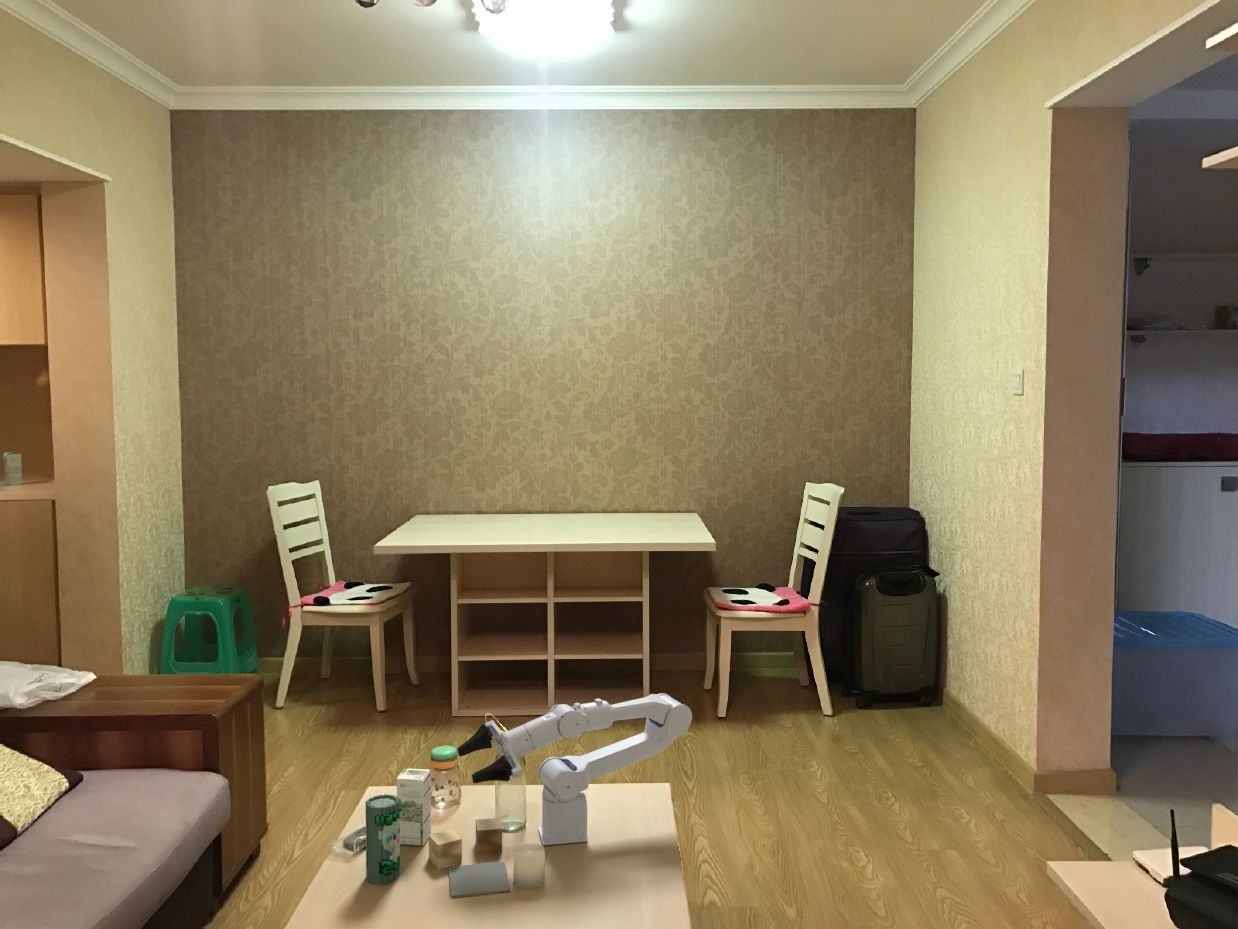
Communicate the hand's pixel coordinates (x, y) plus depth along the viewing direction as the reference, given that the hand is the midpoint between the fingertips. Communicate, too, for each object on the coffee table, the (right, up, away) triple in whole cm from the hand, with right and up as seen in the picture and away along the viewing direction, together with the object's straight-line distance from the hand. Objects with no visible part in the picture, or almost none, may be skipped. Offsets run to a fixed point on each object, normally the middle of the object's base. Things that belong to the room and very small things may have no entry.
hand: (465, 765), depth 192 cm
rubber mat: (+4, -20, -8) cm, 21 cm away
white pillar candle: (+14, -20, -8) cm, 25 cm away
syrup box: (-12, -18, +8) cm, 23 cm away
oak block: (-4, -19, -1) cm, 19 cm away
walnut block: (+4, -19, +5) cm, 20 cm away
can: (-15, -19, -7) cm, 25 cm away
